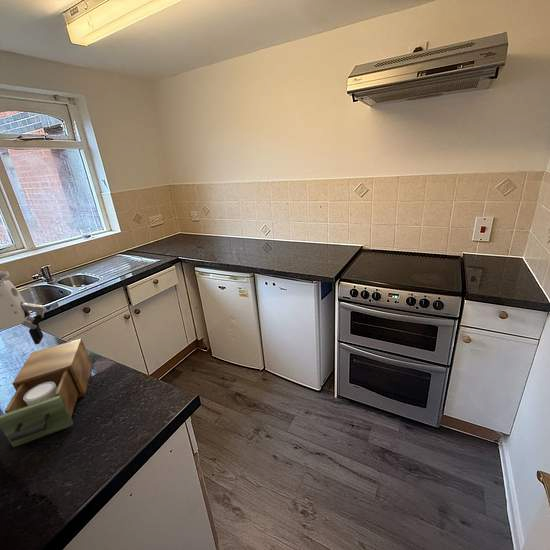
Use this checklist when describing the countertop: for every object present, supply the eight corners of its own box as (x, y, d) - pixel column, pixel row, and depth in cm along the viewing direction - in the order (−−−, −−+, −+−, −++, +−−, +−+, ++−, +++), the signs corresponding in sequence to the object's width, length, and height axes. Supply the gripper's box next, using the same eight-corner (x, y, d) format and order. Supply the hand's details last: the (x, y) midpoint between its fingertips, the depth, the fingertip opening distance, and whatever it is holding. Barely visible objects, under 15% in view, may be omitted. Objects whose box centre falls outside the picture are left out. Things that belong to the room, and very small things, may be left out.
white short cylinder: (56, 399, 82) (46, 378, 80) (71, 405, 79) (60, 384, 77) (29, 418, 77) (17, 397, 74) (43, 425, 74) (31, 403, 71)
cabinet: (85, 395, 85) (71, 365, 82) (29, 414, 81) (11, 383, 77) (92, 365, 99) (81, 338, 95) (45, 380, 95) (31, 352, 91)
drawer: (68, 439, 70) (53, 411, 67) (5, 463, 66) (-14, 435, 63) (82, 389, 87) (71, 364, 84) (32, 406, 83) (18, 380, 80)
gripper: (32, 267, 70) (61, 329, 76) (-62, 287, 65) (-23, 352, 71) (21, 276, 64) (53, 344, 70) (-84, 299, 58) (-39, 370, 64)
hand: (15, 348), depth 70 cm, fingers open, 9 cm apart
